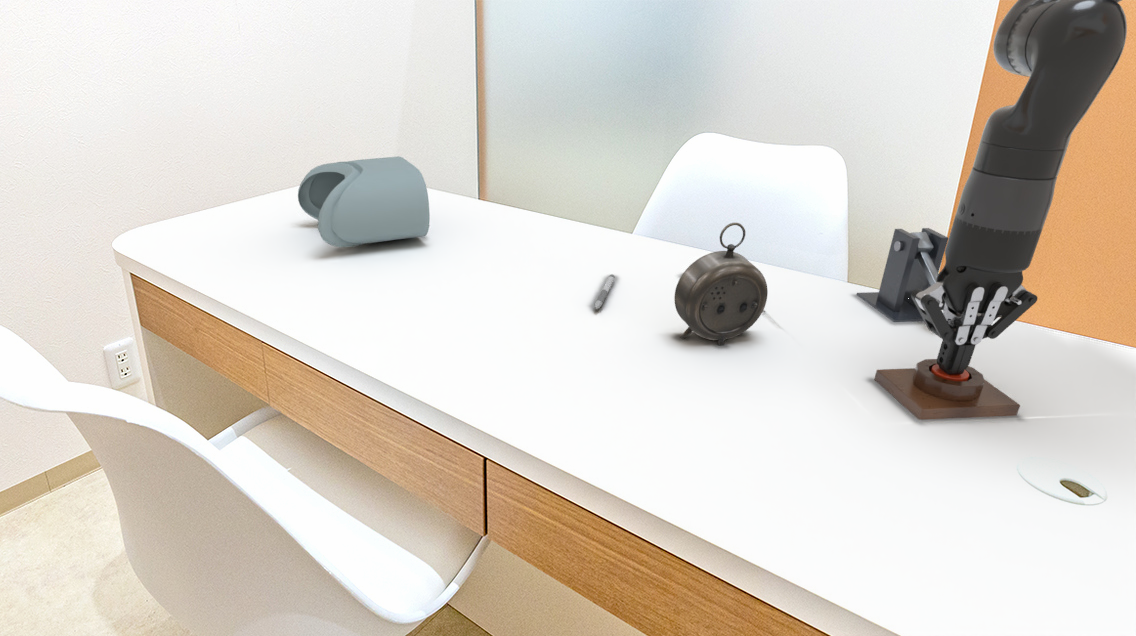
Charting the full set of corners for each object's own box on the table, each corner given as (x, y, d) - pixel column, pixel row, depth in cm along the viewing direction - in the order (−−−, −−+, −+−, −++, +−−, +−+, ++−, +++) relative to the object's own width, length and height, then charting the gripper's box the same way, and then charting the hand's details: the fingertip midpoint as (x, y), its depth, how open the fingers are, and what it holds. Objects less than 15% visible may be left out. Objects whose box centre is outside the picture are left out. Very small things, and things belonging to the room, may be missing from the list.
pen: (615, 281, 118) (616, 272, 117) (599, 315, 106) (599, 305, 105) (609, 280, 118) (609, 272, 117) (592, 314, 106) (592, 304, 106)
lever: (953, 314, 98) (967, 299, 96) (930, 315, 98) (943, 300, 96) (918, 245, 105) (931, 229, 102) (897, 246, 105) (908, 230, 102)
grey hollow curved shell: (431, 248, 132) (428, 175, 126) (322, 261, 125) (314, 185, 119) (396, 215, 150) (392, 150, 144) (300, 225, 143) (292, 157, 137)
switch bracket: (947, 326, 103) (973, 244, 98) (892, 328, 102) (914, 245, 97) (906, 298, 112) (927, 221, 107) (855, 300, 111) (873, 222, 106)
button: (951, 376, 85) (955, 362, 84) (972, 392, 82) (976, 378, 81) (921, 377, 85) (925, 363, 84) (940, 393, 81) (945, 379, 81)
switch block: (960, 382, 89) (970, 352, 87) (1014, 422, 81) (1026, 390, 79) (872, 385, 88) (880, 355, 86) (917, 426, 80) (927, 394, 78)
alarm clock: (744, 332, 101) (765, 214, 94) (764, 349, 96) (787, 227, 89) (667, 337, 99) (682, 218, 92) (683, 356, 95) (700, 231, 87)
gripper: (960, 229, 71) (912, 390, 78) (1091, 227, 72) (1031, 385, 80) (914, 208, 77) (874, 357, 85) (1034, 206, 78) (984, 354, 86)
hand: (950, 371), depth 82 cm, fingers closed
